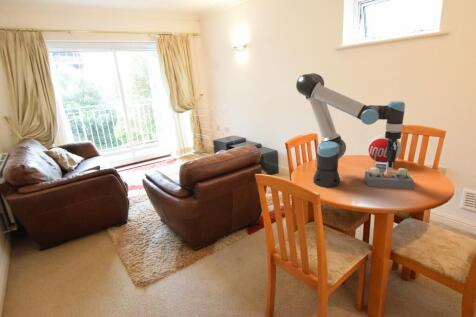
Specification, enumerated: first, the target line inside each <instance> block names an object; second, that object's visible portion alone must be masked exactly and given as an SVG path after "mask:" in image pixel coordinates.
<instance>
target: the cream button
mask: <svg viewBox="0 0 476 317" xmlns="http://www.w3.org/2000/svg"><path fill="white" fill-rule="evenodd" d="M379 170H380V169H379V168H376V167H375V166H374V167H373V166H372V167H370V171H371V172H370V174H371V175H372V177H377V176H378V175H379Z"/></svg>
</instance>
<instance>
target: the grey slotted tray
mask: <svg viewBox="0 0 476 317" xmlns="http://www.w3.org/2000/svg"><path fill="white" fill-rule="evenodd" d="M370 172H371V170H370V171H369V170H368V171H364V180H365V182H366V185H367V187H376V188H379V187H380V188H393V189H395V188H396V189H413V188H414V182H415V180H414V179H413V178H412V177H411V176H410V174H408V173H407V177H405V178H399V176H398V171H397V172H396V171H395V172H394V171H392V172H393V178H390V177H384V172H379V175H378V176H377V177H372V175H371V174H370Z"/></svg>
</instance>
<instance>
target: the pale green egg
mask: <svg viewBox="0 0 476 317" xmlns="http://www.w3.org/2000/svg"><path fill="white" fill-rule="evenodd" d="M408 171H409V170H408V168H402V167H399V168H398V170H397V173H398V176H399V178H405V177H407V173H408Z"/></svg>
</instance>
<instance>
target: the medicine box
mask: <svg viewBox="0 0 476 317" xmlns="http://www.w3.org/2000/svg"><path fill="white" fill-rule="evenodd" d="M386 165H387V163H384V162H376V161H375V166H374V167H376V168H379V169H380V170H379V172H385V171H386Z"/></svg>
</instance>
